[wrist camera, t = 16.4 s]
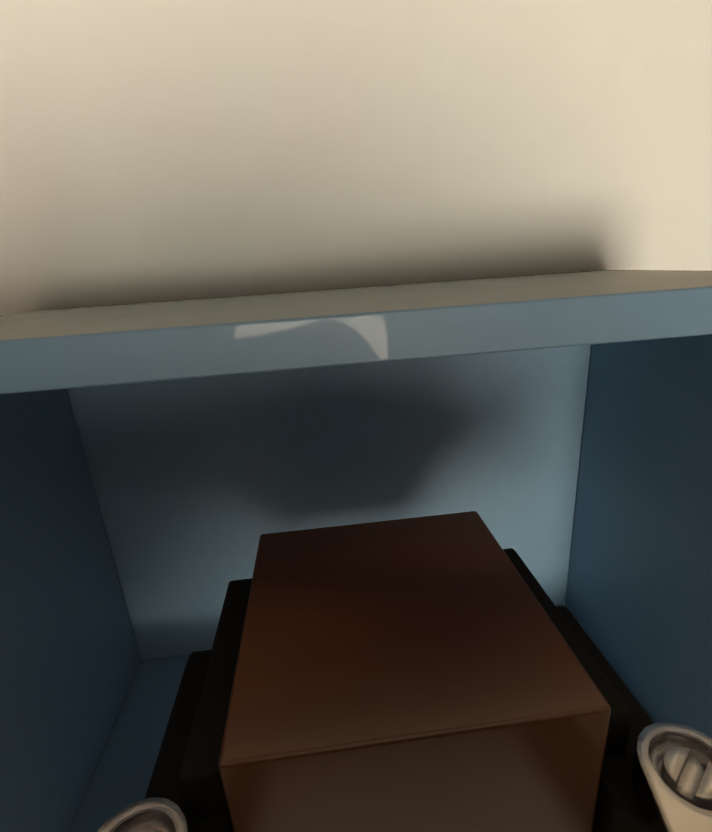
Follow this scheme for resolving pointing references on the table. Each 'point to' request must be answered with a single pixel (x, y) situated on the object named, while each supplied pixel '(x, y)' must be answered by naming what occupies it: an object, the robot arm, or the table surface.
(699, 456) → the toy chest
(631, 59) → the table surface
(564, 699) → the toy block
